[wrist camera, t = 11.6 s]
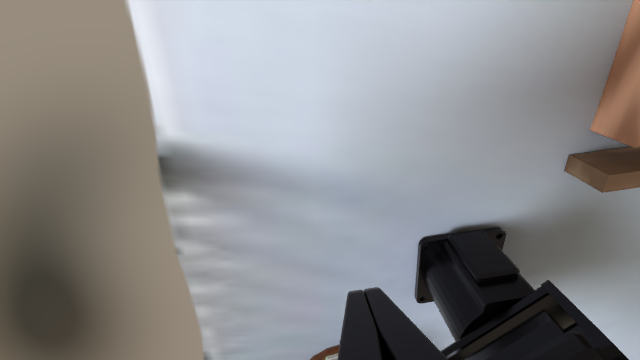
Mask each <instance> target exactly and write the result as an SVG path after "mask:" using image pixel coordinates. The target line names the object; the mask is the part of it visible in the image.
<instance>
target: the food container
mask: <svg viewBox="0 0 640 360" xmlns="http://www.w3.org/2000/svg"><path fill="white" fill-rule="evenodd" d="M339 346H340V345H337V346H333V347H330V348H327V349H325V350H323V351H322V352H320V353H318V354H316V355H315V356H313V357H312V358H311V359H310V360H337V358H338V352H339Z"/></svg>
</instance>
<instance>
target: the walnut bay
mask: <svg viewBox="0 0 640 360" xmlns="http://www.w3.org/2000/svg"><path fill="white" fill-rule="evenodd" d="M564 171H566V172H567V173H569V174H571V175H573V176H574V177H576V178H578V179H580V180H581V181H583V182H585V183H587V184H588V185H590V186H592V187H594V188H595V189H597V190H599V191H601V192H602V193H603V192H610V191H617V190H624V189H631V188H638V187H640V147H636V148H634V147H625V148H617V149H610V150H603V151H595V152H588V153H581V154H574V155H569V158H568V161H567V164H566V167H565V170H564Z"/></svg>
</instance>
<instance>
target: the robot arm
mask: <svg viewBox="0 0 640 360" xmlns="http://www.w3.org/2000/svg"><path fill="white" fill-rule="evenodd" d="M505 236H506V233H505V231H504V230H503V229H501V228H491V229H485V230H478V231H471V232H464V233H458V234H451V235H444V236H437V237H431V238H425V239H422V240H421V241H420V242H419V246H418V259H417V272H416V285H415V299H416V301H417V302H418V303H426V302H433V301H434V302H435V303H436V305H437V307H438V309H439V311H440V313H441V315H442V317H443V319H444V320H445V322H446V324H447V326H448V328H449V330H450V332H451V334H452V336H453V337H454V339H455V341H456V342H454V343H453V344H451V345H450V346H448V347H447V348H445V349H443V350H442V351H440V350H439V349H438V348H437V347H436V346H435V345H434V344H433V343H432V342H431V341H430V340H429V339H428V338H427V337H426V336H425V335H424V334H423V333H422V332H421V331H420V330H419V329H418V328H417V326H416V325H415V324H414V323H413V322H412V321H411V320H410V319H409V318H408V317H407V316H406V315H405V314H404V313H403V312H402V311H401V310H400V309H399V308H398V307H397V306H396V305H395V304H394V302H393V301H392V300H391V299H390V298H389V297H388V296H387V295H386V294H385V293H384V292H383V291H382V290H381V289H380V288H378V287H375V288H369V289H365V290H364V291H363V290H356V291H350V292H349V293H348V296H347V302H346V308H345V315H344V321H343V327H342V333H341V340H340V346H339V352H338V358H337V360H629V359H628V358H627V357H626V356H625V355H624V354H623V353H622V352H621V351H620V350H619V349H618V348H617V347H616V346H615V345H614V344H613V343H612V342H611V341H610V340H609V339H608V338H607V337H606V336H605V335H604V334H603V333H602V332H601V331H600V330H599V329H598V328H597V327H596V326H595V325H594V324H593V323H592V322H591V321H590V320H589V319H588V318H587V317H586V316H585V315H584V314H583V313H582V312H581V311H580V310H579V309H578V308H577V307H576V306H575V305H574V304H573V303H572V302H571V301H570V300H569V299H568V298H567V297H566V296H565V295H564V294H563V293H562V292H560V291H559V290H558V289H557V288H556V287H555V286H554V285H553V284H552V283H551V282H550V281H549V280H547V281H546V282H544V283H543V284H541V287H540V288H538V289H537V290H534V289H533V288H532V287H531V286H530V284H529V283H528V282H527V281H526V280H525V279H524V278H523V277H522V276H521V275H520V273H519V272H520V271H519V269H518V268H517V267H516V266H515V264H514V263H513V262H512V261H511V260H510V259H509V258H508V257H507V256H506V255H505V254H504V252H503V251H502V249H503V245H504V241H505ZM427 244H428V245H427ZM425 245H427V246H425Z"/></svg>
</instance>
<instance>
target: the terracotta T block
mask: <svg viewBox="0 0 640 360" xmlns="http://www.w3.org/2000/svg"><path fill="white" fill-rule="evenodd" d="M591 131H593V132H596V133H598V134H601V135H603V136H606V137H609V138H611V139H614V140H616V141H619V142H621V143H624V144H626V145H629V146H631V147H634V148H636V147H640V0H633V3H632V6H631V9H630V12H629V15H628V19H627V22H626V25H625V28H624V31H623V34H622V37H621V40H620V43H619V46H618V49H617V52H616V55H615V58H614V61H613V64H612V67H611V70H610V73H609V76H608V79H607V82H606V85H605V88H604V91H603V94H602V97H601V100H600V103H599V106H598V109H597V112H596V115H595V118H594V121H593V124H592V127H591Z"/></svg>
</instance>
